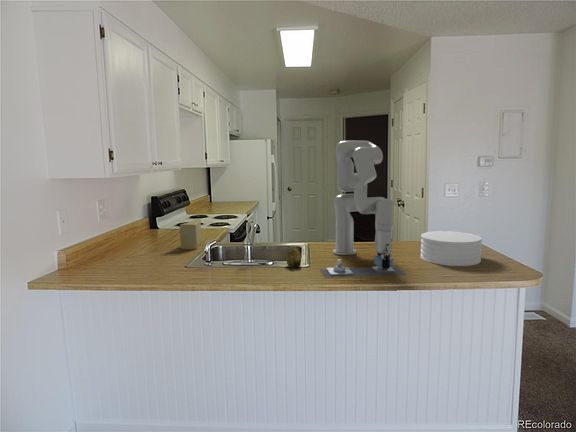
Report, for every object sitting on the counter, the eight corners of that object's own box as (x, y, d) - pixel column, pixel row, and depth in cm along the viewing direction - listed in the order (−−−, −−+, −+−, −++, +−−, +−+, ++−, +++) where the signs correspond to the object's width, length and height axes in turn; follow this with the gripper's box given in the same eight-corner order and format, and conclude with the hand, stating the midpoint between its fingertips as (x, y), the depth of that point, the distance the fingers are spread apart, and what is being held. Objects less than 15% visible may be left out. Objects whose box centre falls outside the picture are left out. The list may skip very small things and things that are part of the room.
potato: (282, 269, 186) (282, 252, 184) (287, 262, 198) (287, 246, 197) (300, 269, 184) (300, 253, 183) (303, 262, 197) (303, 246, 196)
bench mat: (319, 270, 183) (319, 269, 183) (396, 267, 186) (396, 266, 186) (324, 278, 170) (324, 278, 170) (406, 275, 173) (406, 274, 173)
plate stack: (463, 269, 181) (464, 245, 179) (409, 258, 202) (410, 236, 200) (491, 259, 198) (492, 236, 197) (438, 249, 220) (439, 229, 218)
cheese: (193, 241, 251) (191, 218, 249) (208, 241, 250) (207, 218, 248) (180, 249, 230) (178, 223, 227) (196, 249, 229) (195, 224, 226)
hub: (326, 269, 182) (326, 257, 182) (347, 268, 183) (347, 256, 182) (330, 276, 173) (330, 263, 172) (353, 275, 174) (353, 262, 173)
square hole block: (374, 263, 182) (374, 255, 182) (387, 262, 183) (387, 255, 182) (378, 267, 176) (378, 259, 175) (392, 266, 177) (392, 258, 176)
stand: (371, 268, 183) (372, 251, 182) (388, 267, 184) (389, 250, 183) (377, 273, 175) (377, 255, 174) (394, 272, 176) (395, 254, 175)
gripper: (369, 224, 185) (369, 261, 188) (382, 230, 168) (381, 272, 171) (385, 223, 186) (384, 261, 188) (399, 230, 169) (398, 271, 171)
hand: (383, 265), depth 179 cm, fingers closed on square hole block, 6 cm apart
